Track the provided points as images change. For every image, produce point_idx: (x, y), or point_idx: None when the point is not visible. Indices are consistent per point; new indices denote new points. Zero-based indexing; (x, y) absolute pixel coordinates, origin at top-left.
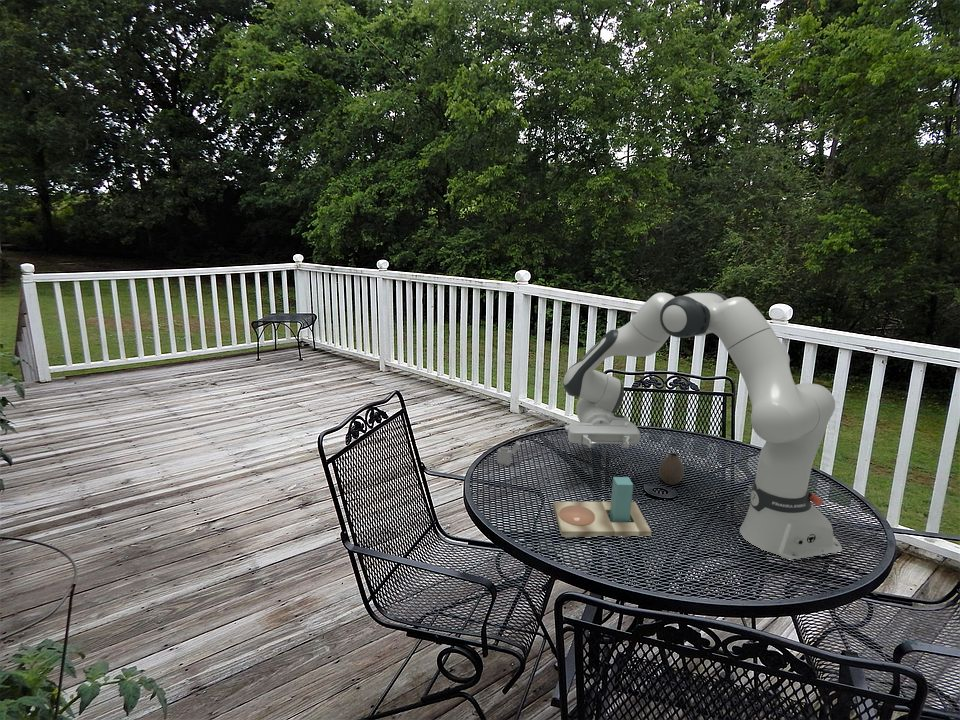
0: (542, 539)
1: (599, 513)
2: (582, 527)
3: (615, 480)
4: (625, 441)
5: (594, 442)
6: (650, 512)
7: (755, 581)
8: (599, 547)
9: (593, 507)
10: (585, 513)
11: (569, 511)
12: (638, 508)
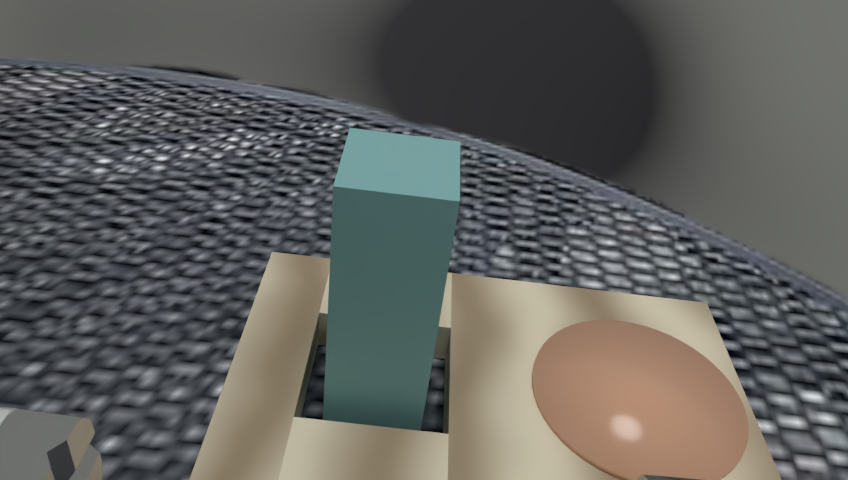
0: (779, 338)
1: (497, 401)
2: (608, 313)
3: (456, 171)
4: (5, 454)
5: (655, 476)
6: (103, 474)
7: (59, 104)
8: (526, 271)
9: (524, 464)
10: (587, 399)
11: (687, 428)
12: (213, 420)
